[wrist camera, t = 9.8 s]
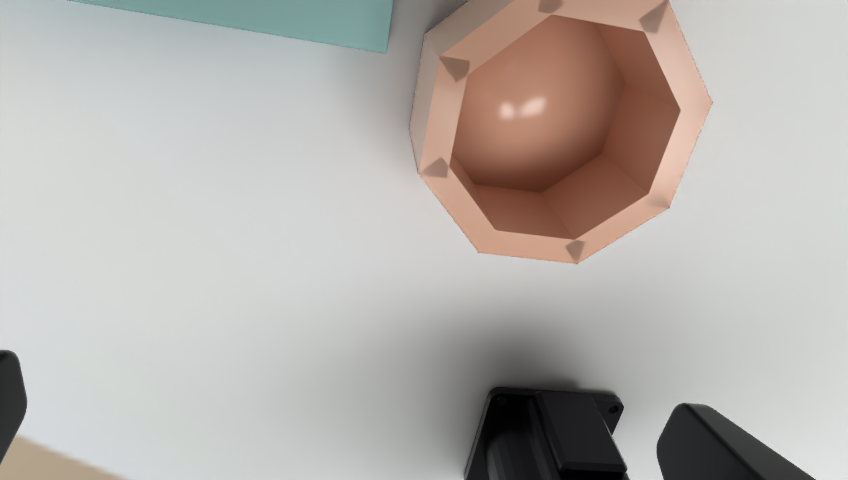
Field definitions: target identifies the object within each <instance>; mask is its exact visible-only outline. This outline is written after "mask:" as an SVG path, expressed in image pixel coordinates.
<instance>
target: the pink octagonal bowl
mask: <svg viewBox="0 0 848 480" xmlns="http://www.w3.org/2000/svg"><path fill="white" fill-rule="evenodd" d="M712 104H713V102H712V101H711V98H710V96H709V94H708V91H707V89H706V87H705V85H704V82H703V80H702V78H701V75H700V73H699V71H698V68H697V66H696V64H695V61H694V59H693V57H692V54H691V52H690V50H689V47H688V45H687V43H686V40H685V38H684V36H683V34H682V31H681V29H680V27H679V24H678V22H677V20H676V17H675V15H674V13H673V10H672V8H671V6H670V3H669V0H469V1H467V2H466V3H465V4H463V5H462V6H461V7H460V8H458V9H457V10H456V11H454V12H453V13H452V14H450V15H449V16H448V17H446V18H445V19H444V20H442V21H441V22H440V23H439V24H437V25H436V26H435V27H433V28H432V29H431V30H429V31H428V32H427V33H425V34H424V40H423V46H422V52H421V58H420V65H419V71H418V77H417V83H416V89H415V95H414V102H413V108H412V114H411V120H410V126H409V132H410V137H411V142H412V147H413V151H414V156H415V161H416V166H417V171H418V175H420V177H421V178H422V179H423V180H424V182H425V183H426V184H427V186H428V187H429V188H430V190H431V191H432V192H433V193H434V195H435V196H436V197H437V199H438V200H439V201H440V203H441V204H442V205H443V207H444V208H445V209H446V210H447V212H448V213H449V214H450V216H451V217H452V218H453V220H454V221H455V222H456V223H457V225H458V226H459V227H460V229H461V230H462V231H463V233H464V234H465V235H466V237H467V238H468V239H469V240H470V242H471V243H472V244H473V246H474V247H475V248H476V250H477V251H478V253H486V254H495V255H504V256H512V257H521V258H530V259H539V260H547V261H556V262H565V263H574V264H578V263H579V262H581V261H583V260H584V259H586V258H587V257H589V256H591V255H592V254H594V253H596V252H597V251H599V250H601V249H602V248H604V247H606V246H607V245H609V244H610V243H612V242H614V241H615V240H617V239H619V238H620V237H622V236H624V235H625V234H627V233H629V232H630V231H632V230H633V229H635V228H637V227H638V226H640V225H642V224H643V223H645V222H647V221H648V220H650V219H652V218H653V217H655V216H656V215H658V214H660V213H661V212H663V211H665V210H666V209H668V208H670V205H671V202H672V200H673V197H674V195H675V193H676V190H677V188H678V185H679V183H680V180H681V178H682V176H683V173H684V171H685V168H686V166H687V163H688V161H689V159H690V156H691V154H692V151H693V149H694V146H695V144H696V142H697V139H698V137H699V134H700V132H701V129H702V127H703V124H704V122H705V120H706V117H707V115H708V112H709V110H710V107H711V105H712Z"/></svg>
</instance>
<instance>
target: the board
mask: <svg viewBox="0 0 848 480" xmlns="http://www.w3.org/2000/svg"><path fill="white" fill-rule="evenodd" d="M69 1H75V2H81V3H87V4H93V5H99V6H105V7H111V8H117V9H123V10H129V11H135V12H141V13H147V14H153V15H159V16H165V17H170V18H176V19H182V20H188V21H194V22H200V23H206V24H212V25H218V26H224V27H230V28H236V29H242V30H248V31H254V32H260V33H266V34H272V35H278V36H284V37H290V38H296V39H302V40H308V41H314V42H320V43H326V44H332V45H338V46H344V47H350V48H356V49H362V50H368V51H374V52H380V53H386V51H387V44H388V37H389V29H390V22H391V14H392V7H393V0H69Z"/></svg>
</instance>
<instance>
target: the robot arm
mask: <svg viewBox="0 0 848 480" xmlns="http://www.w3.org/2000/svg"><path fill="white" fill-rule="evenodd" d="M500 397H503V398H502V399H498V398H500ZM611 406H612V407H611ZM26 409H27V396H26V391H25V387H24V382H23V377H22V372H21V367H20V362H19V359H18V357H17V355H16V354H15V353H14V352H12V351H9V350H0V464H1V462H2V460H3V458H4V456H5V454H6V452H7V450H8V448H9V446H10V444H11V443H12V441H13V439H14V437H15V435H16V433H17V431H18V429H19V427H20V425H21V423H22V421H23V419H24V416H25V413H26ZM623 409H624V406H623V404H622V402H621V400H620V398H618V397H617V396H613V395H600V394H587V393H574V392H561V391H548V390H534V389H521V388H508V387H497V388H494V389H492V390H491V391H490V393H489V394H488V398H487V401H486V404H485V408H484V411H483V415H482V418H481V421H480V425H479V428H478V431H477V435H476V438H475V441H474V445H473V448H472V452H471V455H470V458H469V462H468V465H467V468H466V472H465V475H464V480H630V479H629V477H628V475H627V473H626V471H627V466H626V464H625V462H624V460H623V458H622V456H621V453H620V451H619V449H618V447H617V445H616V443H615V441H614V439H613V437H612V434H613V432H614V430H615V428H616V425H617V423H618V421H619V419H620V416H621V414H622V412H623ZM657 458H658V462H659V465H660V469H661V472H662V475H663V478H664V480H816V479H814V478H813V477H811V476H810V475H808V474H807V473H805V472H804V471H803V470H801V469H800V468H798V467H797V466H795V465H794V464H792V463H791V462H789V461H788V460H787V459H785V458H784V457H782V456H781V455H779V454H778V453H776V452H775V451H774V450H772V449H771V448H769V447H768V446H766V445H765V444H763V443H762V442H760V441H759V440H758V439H756V438H755V437H753V436H752V435H750V434H749V433H747V432H746V431H745V430H743V429H742V428H740V427H739V426H737V425H736V424H734V423H733V422H731V421H730V420H729V419H727V418H726V417H724V416H723V415H721V414H720V413H718V412H717V411H716V410H714V409H713V408H711V407H709V406H707V405H703V404H691V403H681V404H679V405H678V406H676V407H675V408H674V410H673V412H672V414H671V416H670V418H669V420H668V422H667V424H666V426H665V428H664V430H663V432H662V433H661V435H660V437H659V440H658V442H657Z"/></svg>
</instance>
